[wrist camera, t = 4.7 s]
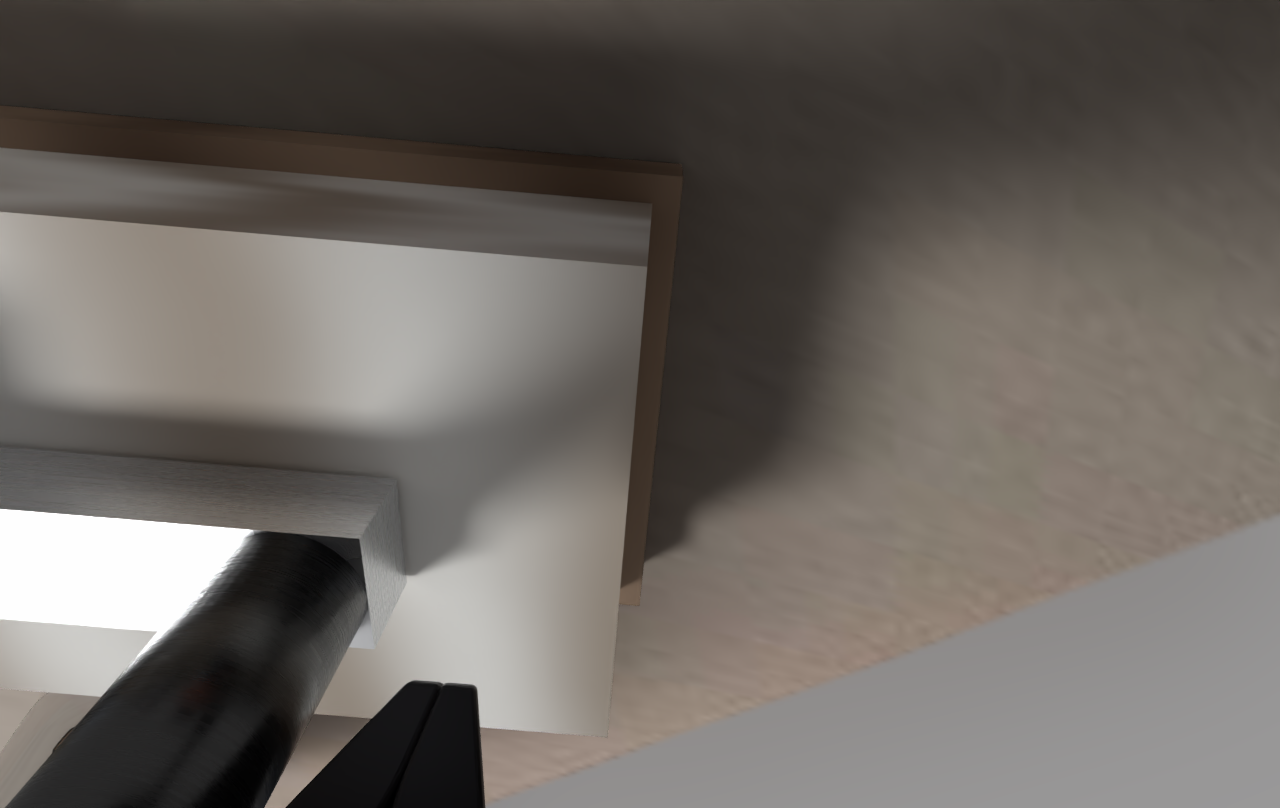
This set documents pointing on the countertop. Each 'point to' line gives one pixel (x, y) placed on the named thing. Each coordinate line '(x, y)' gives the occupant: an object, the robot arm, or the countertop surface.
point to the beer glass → (39, 738)
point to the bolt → (195, 613)
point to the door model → (358, 371)
